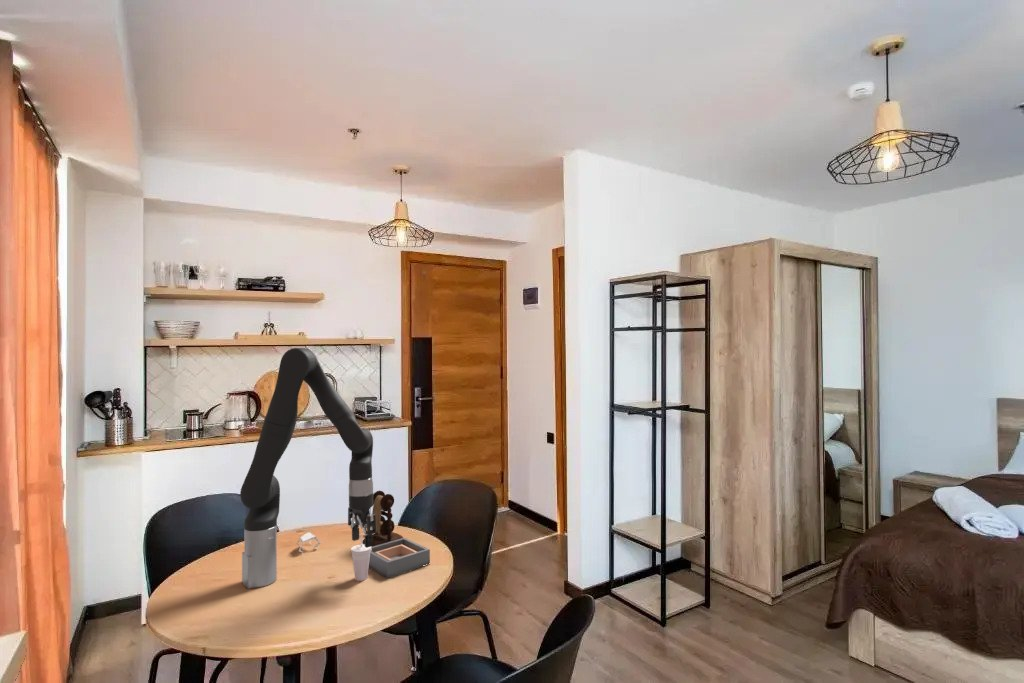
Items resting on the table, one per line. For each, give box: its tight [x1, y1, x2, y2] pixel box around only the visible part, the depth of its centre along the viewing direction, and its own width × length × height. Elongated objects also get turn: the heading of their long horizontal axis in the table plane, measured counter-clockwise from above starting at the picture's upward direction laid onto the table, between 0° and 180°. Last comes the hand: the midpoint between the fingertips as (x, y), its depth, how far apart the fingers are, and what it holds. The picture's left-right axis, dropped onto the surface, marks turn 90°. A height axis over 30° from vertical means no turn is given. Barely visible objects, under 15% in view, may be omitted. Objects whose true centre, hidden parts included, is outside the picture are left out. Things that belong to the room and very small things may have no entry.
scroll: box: [363, 490, 404, 547], centre depth 195 cm, size 15×15×20 cm
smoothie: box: [350, 532, 372, 582], centre depth 168 cm, size 6×6×14 cm
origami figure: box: [296, 531, 322, 556], centre depth 194 cm, size 12×8×5 cm
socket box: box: [368, 537, 431, 579], centre depth 179 cm, size 16×16×5 cm
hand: (362, 543), depth 168 cm, fingers open, 8 cm apart
